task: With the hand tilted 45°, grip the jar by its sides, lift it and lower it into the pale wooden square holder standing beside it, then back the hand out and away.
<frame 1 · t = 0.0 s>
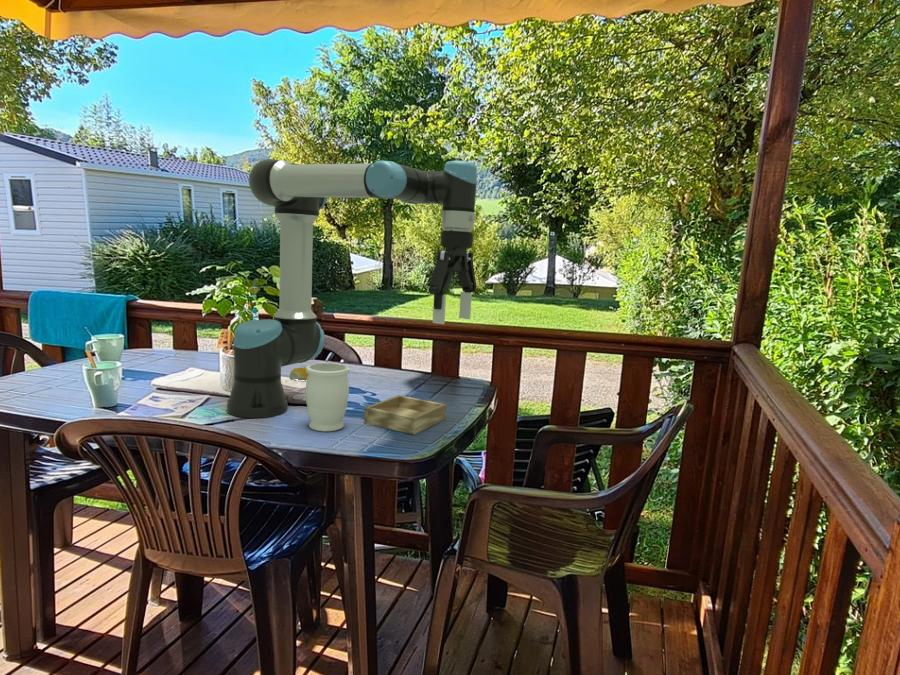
hand: (452, 321, 139), 28 cm above the table, tool pointing down, fingers open, 13 cm apart
holder: (405, 420, 151), on the table
bread roll: (304, 379, 191), on the table
jar: (326, 427, 143), on the table
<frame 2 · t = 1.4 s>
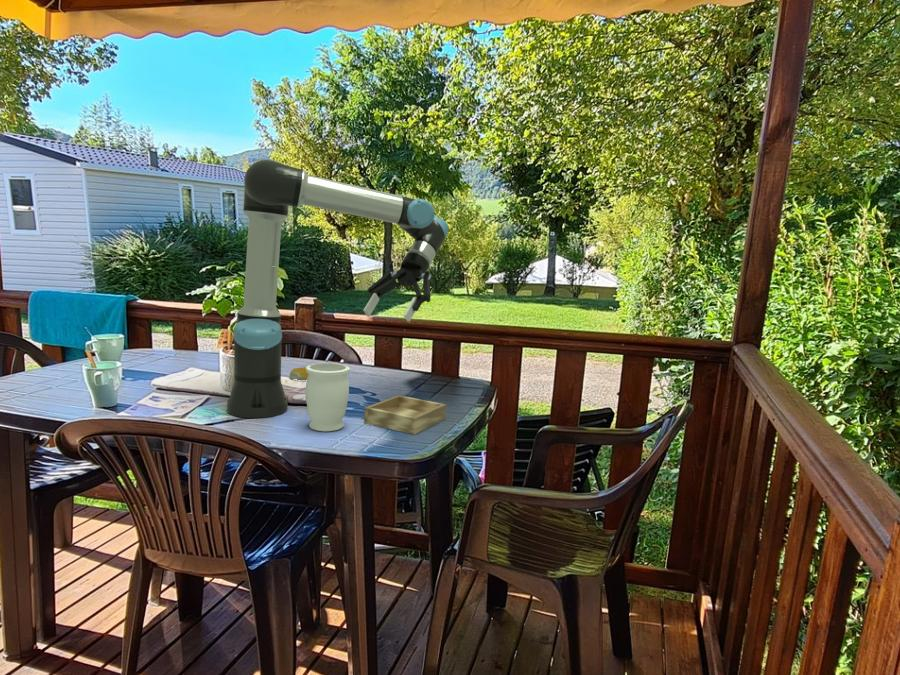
hand: (385, 316, 159), 26 cm above the table, tool tilted 45°, fingers open, 13 cm apart
nothing on the table moved.
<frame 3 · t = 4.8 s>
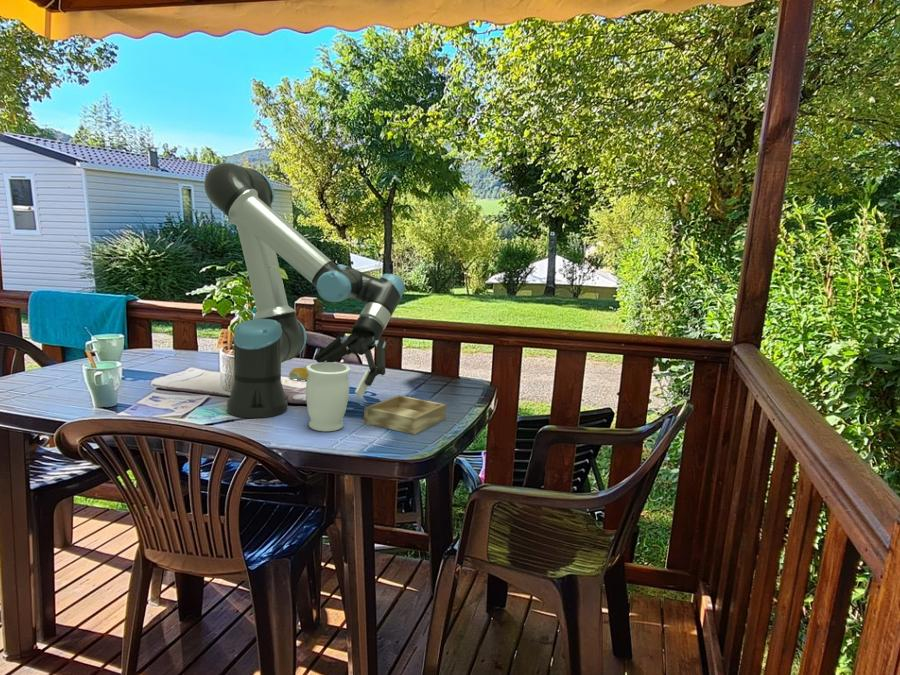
hand: (334, 391, 142), 9 cm above the table, tool tilted 45°, fingers open, 13 cm apart
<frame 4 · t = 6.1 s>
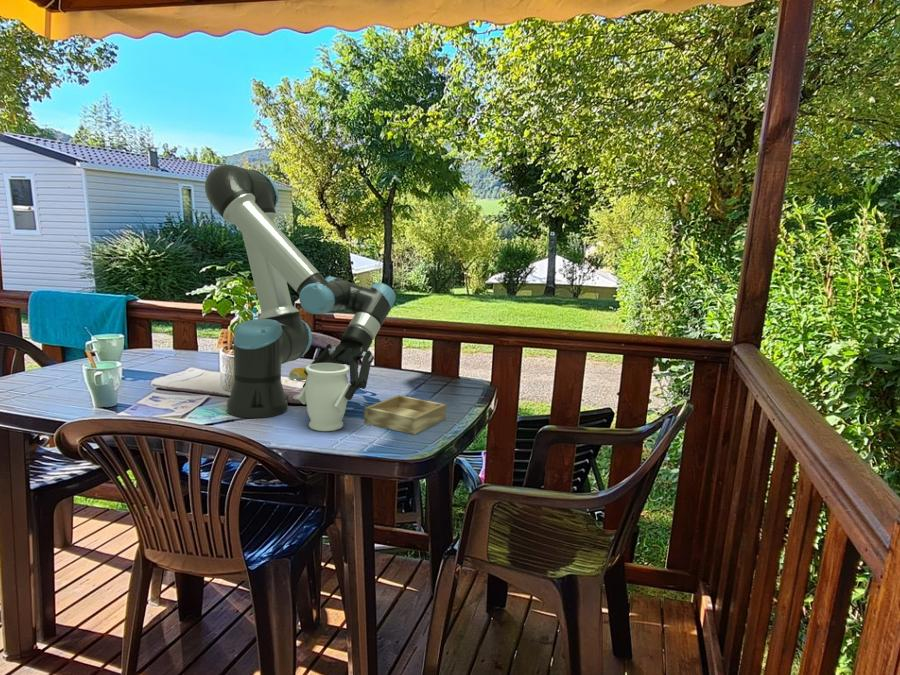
hand: (319, 405, 140), 6 cm above the table, tool tilted 45°, fingers closed on jar, 10 cm apart
jar: (326, 427, 143), on the table, touching gripper
everything else where it was.
when the fingers open (9 cm above the table, at t = 13.3 s): jar drops 1 cm, resting on holder.
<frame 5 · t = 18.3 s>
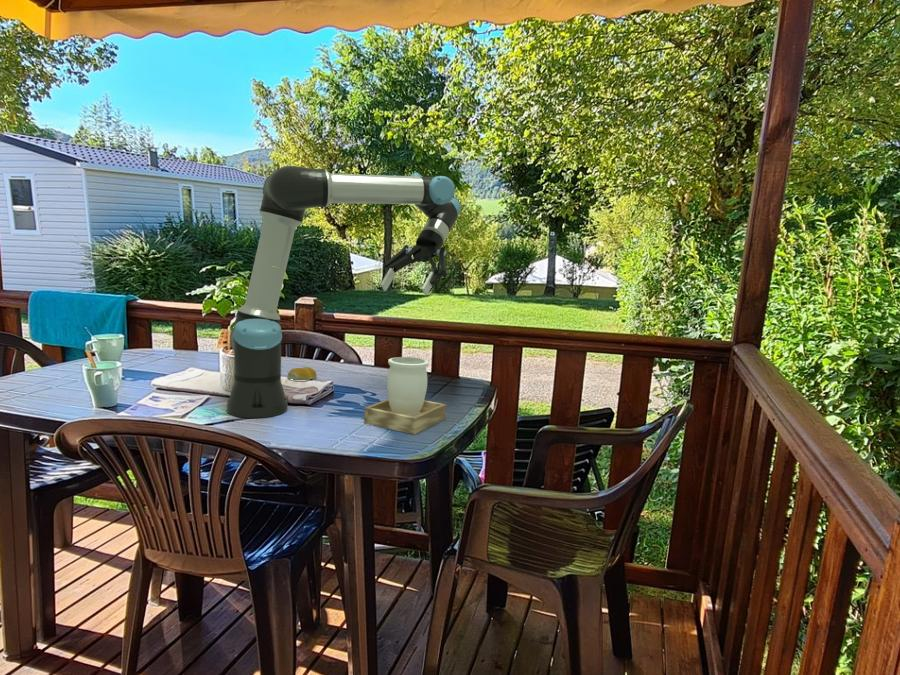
hand: (403, 289, 163), 33 cm above the table, tool tilted 45°, fingers open, 13 cm apart
jar: (405, 417, 151), point 1 cm above the table, touching holder
everything else where it was.
at the end: jar 0.2 cm off-centre on the holder, point 0.8 cm above the holder's base; jar tilted 1°; the gripper is holding nothing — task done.
